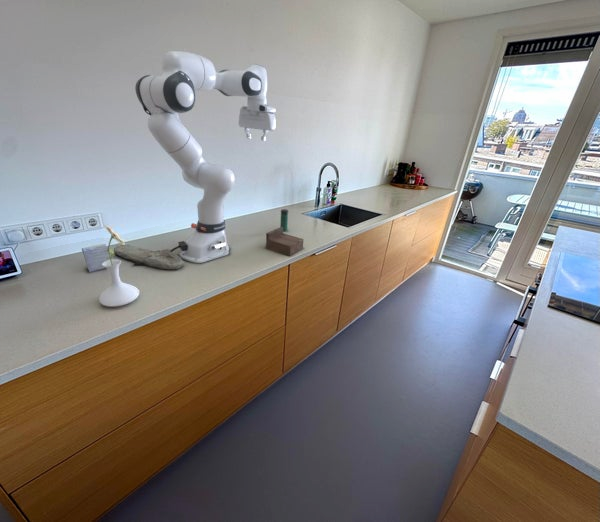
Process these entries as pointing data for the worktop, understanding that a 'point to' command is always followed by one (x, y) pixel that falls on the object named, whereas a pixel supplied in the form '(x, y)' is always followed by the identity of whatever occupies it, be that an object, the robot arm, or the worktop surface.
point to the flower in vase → (116, 280)
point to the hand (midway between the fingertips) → (255, 139)
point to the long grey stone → (150, 256)
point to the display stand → (283, 242)
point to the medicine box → (95, 256)
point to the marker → (284, 219)
